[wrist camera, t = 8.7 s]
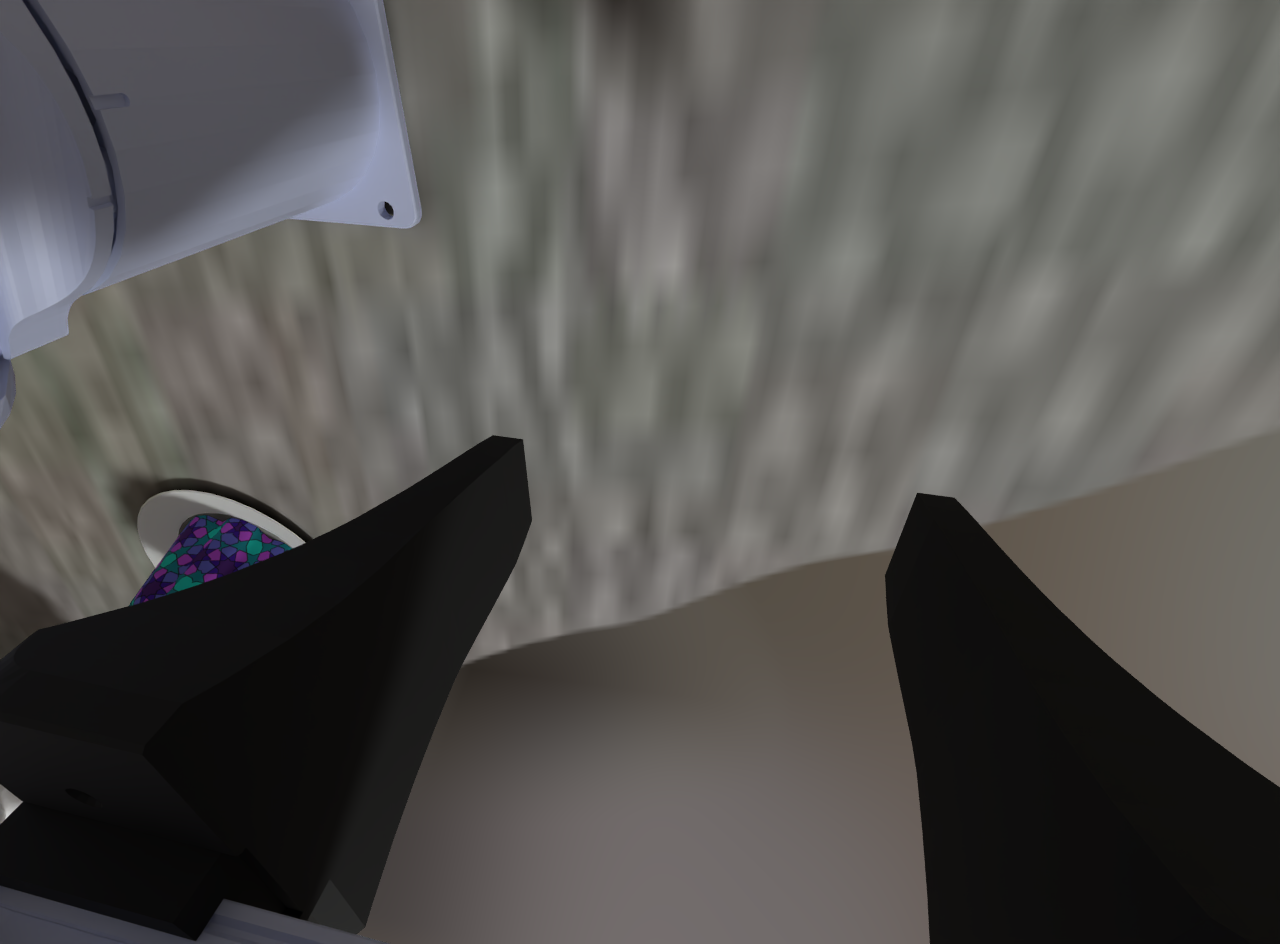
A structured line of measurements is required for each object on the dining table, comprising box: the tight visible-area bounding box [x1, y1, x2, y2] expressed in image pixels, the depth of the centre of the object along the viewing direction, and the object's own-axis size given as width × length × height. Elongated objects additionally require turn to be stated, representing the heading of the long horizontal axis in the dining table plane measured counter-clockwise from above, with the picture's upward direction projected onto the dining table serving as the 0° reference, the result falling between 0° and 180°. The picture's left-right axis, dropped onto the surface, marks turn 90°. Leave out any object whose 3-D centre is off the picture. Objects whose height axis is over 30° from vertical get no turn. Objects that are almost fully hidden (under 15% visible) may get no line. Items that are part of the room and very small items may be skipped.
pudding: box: [129, 490, 306, 606], centre depth 30 cm, size 12×12×5 cm
